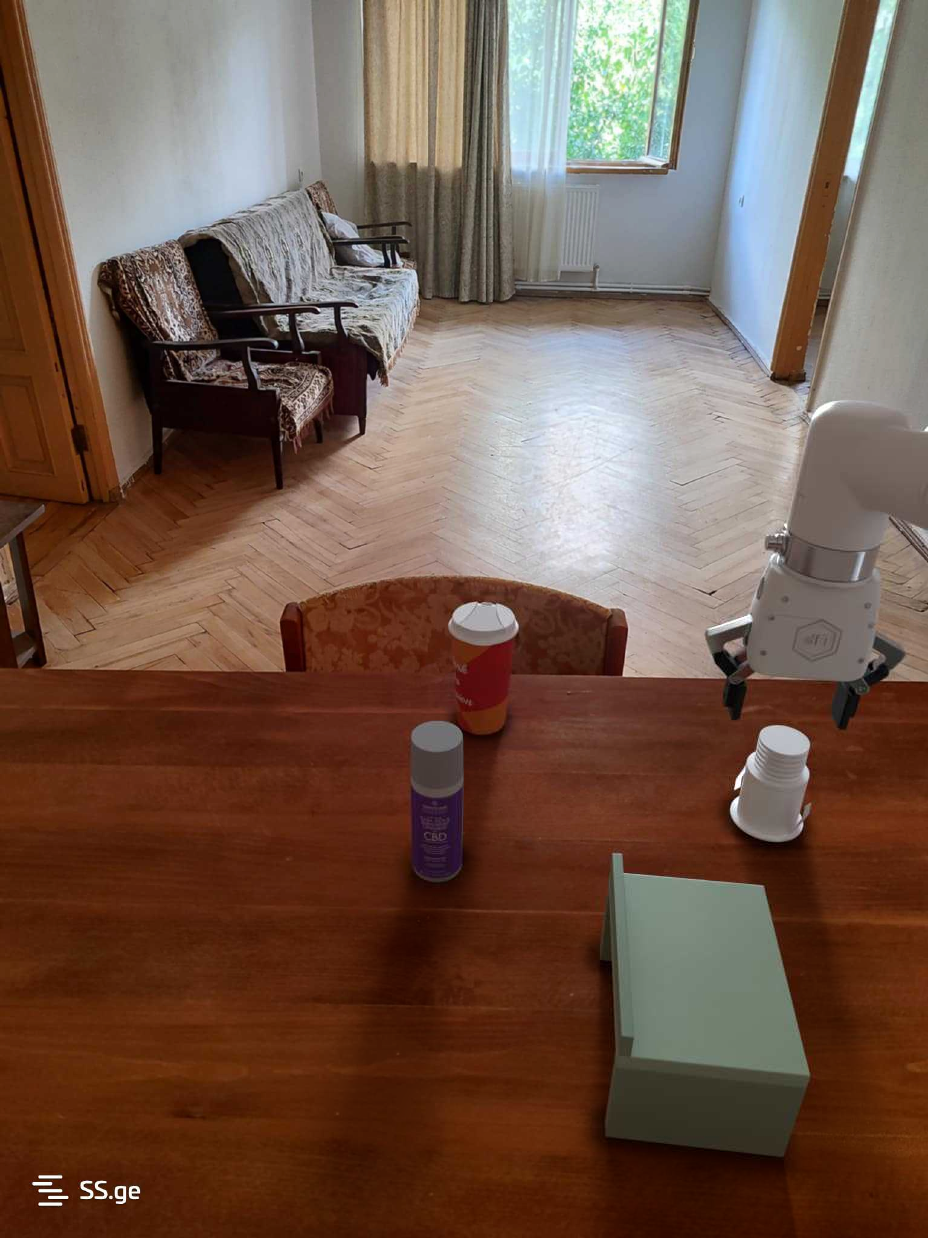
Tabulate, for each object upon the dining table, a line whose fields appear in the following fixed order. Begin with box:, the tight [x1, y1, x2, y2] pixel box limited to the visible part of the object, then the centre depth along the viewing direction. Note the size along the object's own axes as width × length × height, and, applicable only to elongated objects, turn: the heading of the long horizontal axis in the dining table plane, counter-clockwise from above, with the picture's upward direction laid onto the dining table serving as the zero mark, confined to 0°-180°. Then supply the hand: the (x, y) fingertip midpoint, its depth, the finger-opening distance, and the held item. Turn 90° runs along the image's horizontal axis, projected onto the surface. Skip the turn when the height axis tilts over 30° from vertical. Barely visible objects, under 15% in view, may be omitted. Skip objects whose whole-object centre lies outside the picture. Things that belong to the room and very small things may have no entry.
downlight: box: [729, 724, 812, 843], centre depth 86 cm, size 8×7×10 cm
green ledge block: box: [599, 853, 811, 1158], centre depth 65 cm, size 12×16×11 cm
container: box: [410, 720, 464, 883], centre depth 79 cm, size 5×5×15 cm
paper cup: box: [447, 601, 519, 736], centre depth 99 cm, size 8×8×14 cm
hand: (784, 716), depth 83 cm, fingers open, 9 cm apart
